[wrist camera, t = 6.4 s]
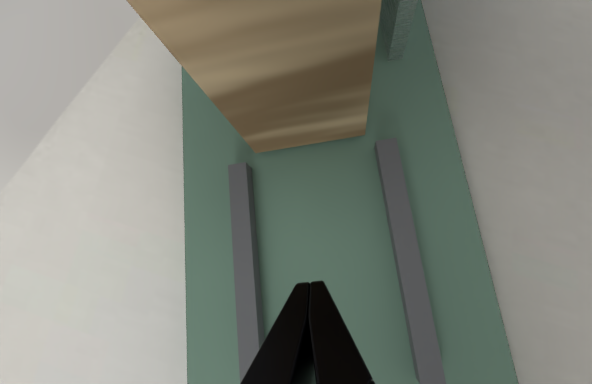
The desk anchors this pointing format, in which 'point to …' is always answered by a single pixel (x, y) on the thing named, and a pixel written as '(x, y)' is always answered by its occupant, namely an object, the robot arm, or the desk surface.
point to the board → (343, 235)
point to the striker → (276, 63)
